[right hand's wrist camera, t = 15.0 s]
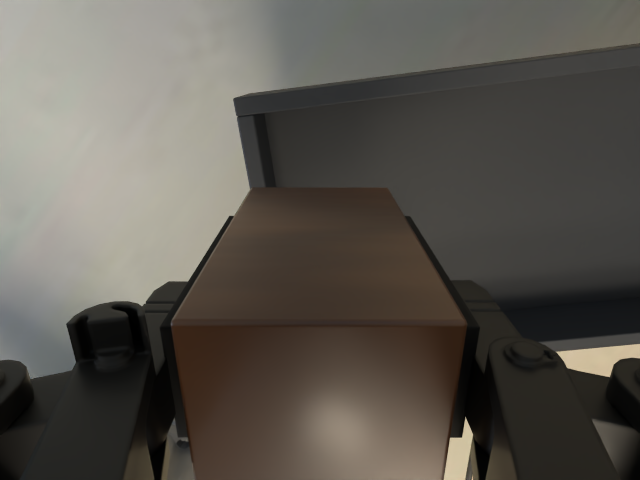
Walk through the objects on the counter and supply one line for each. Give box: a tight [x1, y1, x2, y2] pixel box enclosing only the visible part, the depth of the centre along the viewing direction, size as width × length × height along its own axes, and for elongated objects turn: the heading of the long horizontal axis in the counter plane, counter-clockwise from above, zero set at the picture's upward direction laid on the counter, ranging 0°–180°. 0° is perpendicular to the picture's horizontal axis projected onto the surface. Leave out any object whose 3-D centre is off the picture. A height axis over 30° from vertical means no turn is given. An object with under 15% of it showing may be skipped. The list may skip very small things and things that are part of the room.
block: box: [171, 187, 467, 480], centre depth 11 cm, size 4×4×8 cm
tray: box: [233, 44, 640, 352], centre depth 20 cm, size 16×34×11 cm, turn 97°
